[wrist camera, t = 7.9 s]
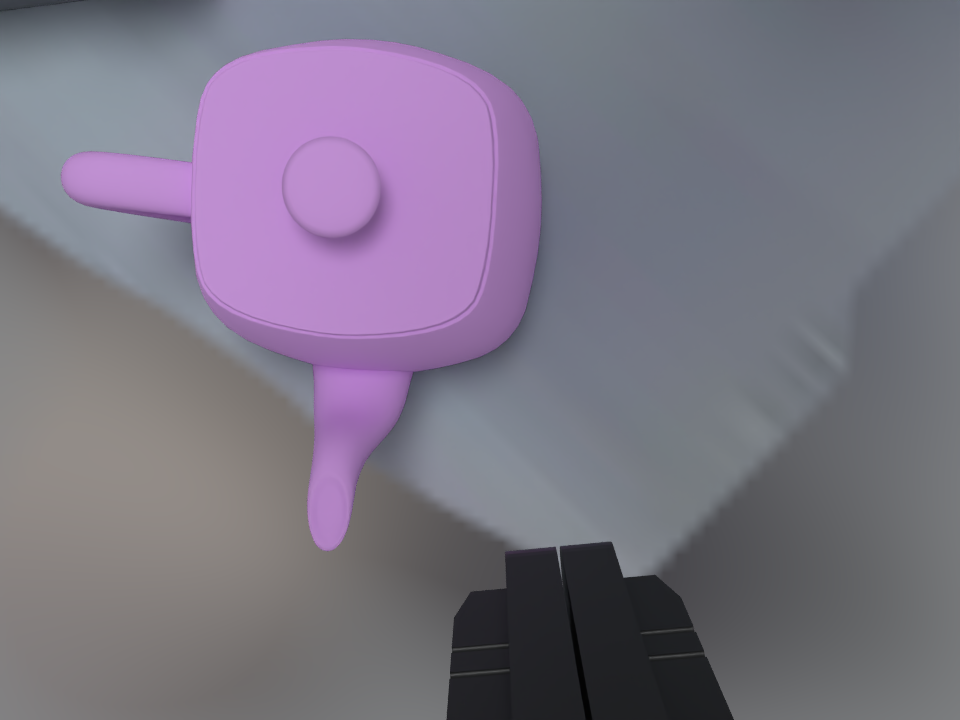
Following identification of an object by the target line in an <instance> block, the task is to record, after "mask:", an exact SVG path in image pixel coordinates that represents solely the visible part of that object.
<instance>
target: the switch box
mask: <svg viewBox="0 0 960 720" xmlns="http://www.w3.org/2000/svg"><path fill="white" fill-rule="evenodd" d="M74 1H82V0H0V11H2V10H10V9H18V8H26V7H34V6H42V5H50V4H58V3H66V2H74Z"/></svg>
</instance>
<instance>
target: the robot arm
mask: <svg viewBox="0 0 960 720" xmlns="http://www.w3.org/2000/svg"><path fill="white" fill-rule="evenodd" d="M560 559H561V571H562V579H561V574H560V568H559V562H558V556H557V550H556V547H549V548H538V549H527V550H517V551H506V552H505V562H506V585H507V589H497V590H485V591H474V592H471V593H470V594H469V596H468V597H467V599H466V600H465V602H464V603H463V605H462V606H461V608H460V609H459V611H458V613H457V614H456V616H455V617H454V626H453V640H452V653H451V667H450V677H451V678H450V680H449V695H448V707H447V708H448V709H447V720H734V719H733V717H732V714H731V712H730V710H729V707H728V705H727V703H726V700H725V698H724V696H723V694H722V691H721V689H720V687H719V684H718V682H717V680H716V677H715V675H714V673H713V670H712V668H711V666H710V664H709V661H708V659H707V657H705V655H704V650H703V647H702V645H701V643H700V641H699V638H698V636H697V633H696V632H694V628H693V624H692V622H691V620H690V617H689V615H688V613H687V610H686V608H685V606H684V604H683V601H682V599H681V598H680V596H679V595H677V594H676V593H675V592H674V591H673V590H672V589H671V588H669V587H668V586H667V585H666V584H665V583H664V582H663V581H661V580H660V579H659V578H658V577H657V576H656V575H649V576H638V577H627V578H623V575H622V572H621V569H620V566H619V563H618V559H617V556H616V553H615V550H614V547H613V544H612V542H601V543H590V544H579V545H568V546H560ZM562 582H563V585H562Z"/></svg>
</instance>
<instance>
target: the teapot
mask: <svg viewBox="0 0 960 720" xmlns="http://www.w3.org/2000/svg"><path fill="white" fill-rule="evenodd" d="M61 181H62V186H63V188H64V190H65V192H66V193H67V194H68V195H69V197H70V198H72V199H73V200H75V201H76V202H78V203H81V204H83V205H86V206H90V207H94V208H99V209H105V210H110V211H116V212H122V213H129V214H135V215H141V216H148V217H154V218H161V219H167V220H174V221H181V222H187V223H191V227H192V240H193V250H194V260H195V269H196V276H197V279H198V282H199V285H200V288H201V291H202V294H203V296H204V299H205V300H206V302H207V304H208V305H209V307H210V308H211V310H212V311H213V313H214V314H215V315H216V316H217V317H218V318H219V319H220V320H221V321H222V322H223V323H224V324H225V325H226V326H227V327H228V328H229V329H231V330H233V331H234V332H236V333H237V334H239V335H240V336H242V337H243V338H245V339H246V340H248V341H250V342H252V343H255V344H257V345H259V346H261V347H263V348H266V349H268V350H270V351H273V352H276V353H279V354H282V355H285V356H288V357H291V358H294V359H297V360H300V361H304V362H307V363H310V364H313V375H314V426H315V439H314V453H313V461H312V469H311V475H310V482H309V489H308V499H307V512H308V522H309V528H310V532H311V535H312V538H313V540H314V542H315V544H316V545H317V546H318V547H319V548H320V549H321V550H324V551H331V550H334V549H335V548H336V547H337V546H339V544H340V543H341V541H342V540H343V538H344V536H345V534H346V531H347V529H348V526H349V522H350V517H351V513H352V507H353V502H354V496H355V490H356V484H357V481H358V478H359V475H360V472H361V470H362V468H363V466H364V464H365V462H366V460H367V459H368V457H369V456H370V454H371V453H372V452H373V451H374V449H375V448H376V447H377V446H378V445H379V444H380V443H381V441H382V440H383V439H384V438H385V437H386V436H387V434H388V433H389V432H390V431H391V430H392V428H393V427H394V426H395V424H396V422H397V421H398V419H399V417H400V415H401V413H402V410H403V408H404V405H405V401H406V397H407V394H408V390H409V386H410V382H411V378H412V375H413V372H417V371H423V370H429V369H436V368H440V367H445V366H449V365H454V364H458V363H461V362H465V361H468V360H471V359H475V358H478V357H481V356H483V355H485V354H487V353H489V352H491V351H493V350H495V349H496V348H498V347H499V346H500V345H501V344H502V343H504V342H505V341H506V340H507V339H508V338H509V337H510V336H511V335H512V333H513V332H514V331H515V329H516V328H517V327H518V325H519V323H520V321H521V319H522V317H523V315H524V313H525V310H526V306H527V302H528V298H529V294H530V289H531V285H532V281H533V276H534V270H535V265H536V260H537V254H538V247H539V239H540V230H541V208H542V195H541V169H540V157H539V144H538V138H537V134H536V131H535V127H534V124H533V121H532V118H531V116H530V114H529V112H528V111H527V109H526V107H525V105H524V104H523V102H522V100H521V99H520V98H519V97H518V96H517V95H516V94H515V92H514V91H513V90H512V89H511V88H510V87H508V86H507V85H506V84H504V83H503V82H501V81H500V80H499V79H497V78H496V77H494V76H493V75H491V74H490V73H488V72H486V71H484V70H481V69H479V68H477V67H475V66H473V65H471V64H469V63H466V62H463V61H460V60H457V59H455V58H452V57H449V56H446V55H443V54H440V53H436V52H433V51H430V50H426V49H423V48H420V47H415V46H410V45H405V44H401V43H396V42H387V41H378V40H361V39H338V40H324V41H316V42H309V43H302V44H295V45H289V46H284V47H278V48H273V49H267V50H262V51H259V52H255V53H252V54H249V55H245V56H242V57H240V58H238V59H236V60H234V61H232V62H230V63H228V64H226V65H225V66H223V67H222V68H221V69H220V70H219V71H217V72H216V73H215V74H214V75H213V77H212V78H211V79H210V80H209V82H208V83H207V85H206V87H205V90H204V92H203V94H202V97H201V100H200V105H199V110H198V115H197V121H196V130H195V139H194V147H193V155H192V162H185V161H177V160H169V159H162V158H154V157H146V156H137V155H129V154H119V153H109V152H94V151H90V152H81V153H78V154H75V155H73V156H71V157H70V158H69V159H68V160H67V161H66V162H65V164H64V166H63V167H62V172H61Z"/></svg>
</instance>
